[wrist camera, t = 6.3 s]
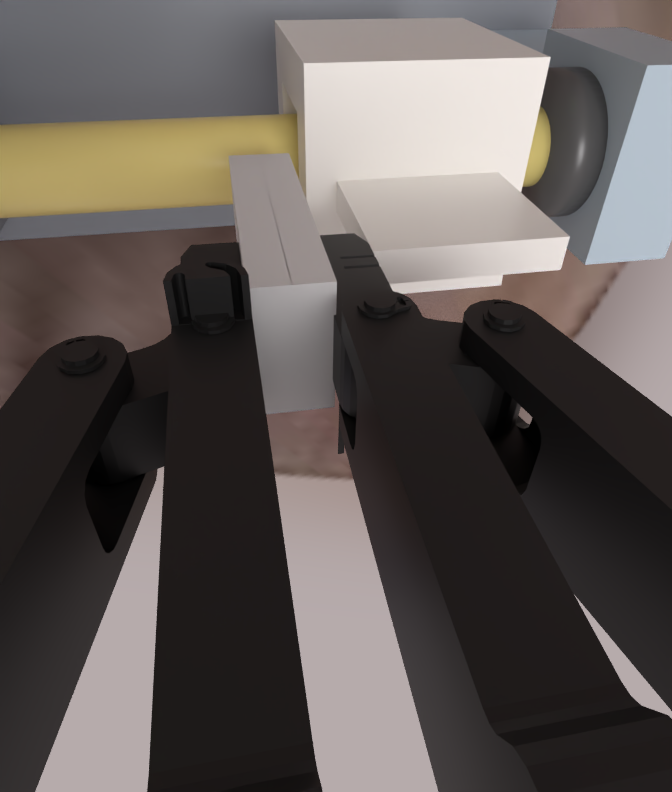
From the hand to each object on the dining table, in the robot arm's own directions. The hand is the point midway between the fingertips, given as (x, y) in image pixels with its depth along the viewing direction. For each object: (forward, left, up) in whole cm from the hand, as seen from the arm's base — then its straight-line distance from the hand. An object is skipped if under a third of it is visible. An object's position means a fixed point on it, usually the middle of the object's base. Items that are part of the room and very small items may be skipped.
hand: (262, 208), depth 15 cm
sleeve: (+4, 0, -6) cm, 7 cm away
